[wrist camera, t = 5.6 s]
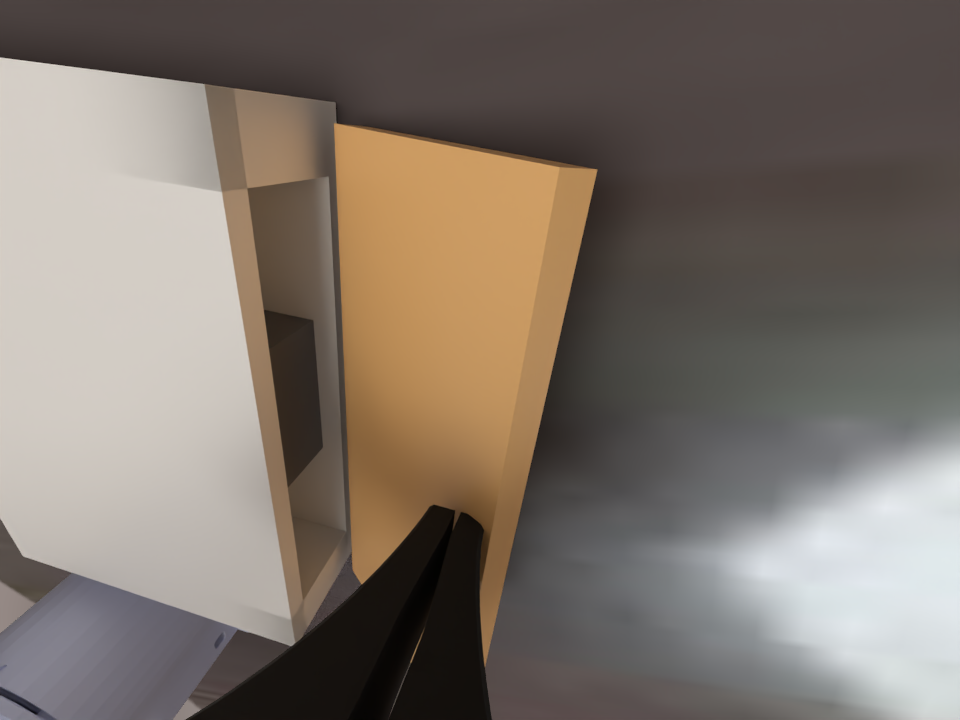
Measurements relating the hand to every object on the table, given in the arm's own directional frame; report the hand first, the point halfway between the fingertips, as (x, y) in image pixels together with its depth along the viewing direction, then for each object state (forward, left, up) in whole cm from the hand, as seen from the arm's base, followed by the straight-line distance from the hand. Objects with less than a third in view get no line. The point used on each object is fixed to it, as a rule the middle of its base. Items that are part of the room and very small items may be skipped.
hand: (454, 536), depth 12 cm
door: (0, +5, -5) cm, 7 cm away
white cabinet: (0, +13, -6) cm, 14 cm away
